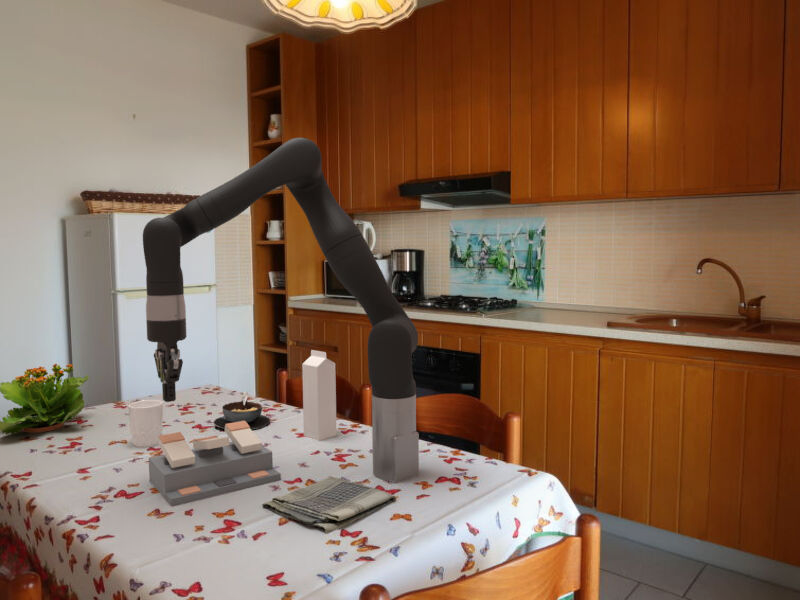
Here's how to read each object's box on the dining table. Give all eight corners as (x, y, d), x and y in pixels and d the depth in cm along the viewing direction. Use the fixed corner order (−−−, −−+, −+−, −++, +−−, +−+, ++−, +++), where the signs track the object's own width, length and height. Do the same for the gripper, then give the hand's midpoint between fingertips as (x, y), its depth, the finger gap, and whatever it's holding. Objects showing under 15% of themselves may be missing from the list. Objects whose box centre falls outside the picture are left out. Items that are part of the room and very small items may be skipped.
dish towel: (331, 482, 127) (331, 467, 127) (398, 505, 116) (397, 488, 115) (258, 512, 113) (258, 495, 112) (326, 541, 101) (325, 522, 101)
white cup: (170, 438, 156) (168, 400, 155) (154, 448, 148) (153, 408, 147) (140, 438, 156) (138, 399, 156) (123, 448, 149) (121, 407, 148)
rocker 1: (194, 463, 121) (195, 454, 121) (171, 468, 119) (172, 459, 118) (180, 439, 129) (180, 431, 128) (158, 443, 126) (158, 435, 126)
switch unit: (280, 480, 127) (280, 450, 126) (171, 507, 114) (169, 474, 113) (250, 459, 140) (250, 432, 139) (149, 481, 127) (148, 451, 126)
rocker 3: (261, 449, 129) (262, 441, 129) (241, 453, 127) (242, 445, 126) (243, 427, 137) (244, 420, 137) (224, 431, 135) (225, 423, 134)
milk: (318, 441, 152) (316, 354, 150) (303, 436, 157) (301, 351, 155) (337, 435, 157) (335, 350, 155) (321, 431, 161) (319, 348, 159)
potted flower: (-13, 425, 169) (-17, 363, 168) (81, 410, 184) (78, 353, 183) (0, 447, 150) (-4, 376, 149) (104, 428, 165) (101, 364, 164)
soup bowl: (202, 431, 163) (201, 404, 162) (235, 415, 178) (234, 390, 177) (252, 436, 158) (251, 407, 158) (281, 419, 174) (281, 393, 173)
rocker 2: (229, 445, 125) (228, 435, 125) (208, 449, 122) (207, 439, 123) (213, 444, 133) (212, 435, 133) (193, 448, 130) (192, 439, 131)
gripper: (194, 318, 121) (197, 404, 123) (175, 313, 132) (178, 392, 134) (155, 321, 117) (158, 410, 119) (139, 315, 128) (142, 397, 129)
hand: (169, 400), depth 126 cm, fingers closed
